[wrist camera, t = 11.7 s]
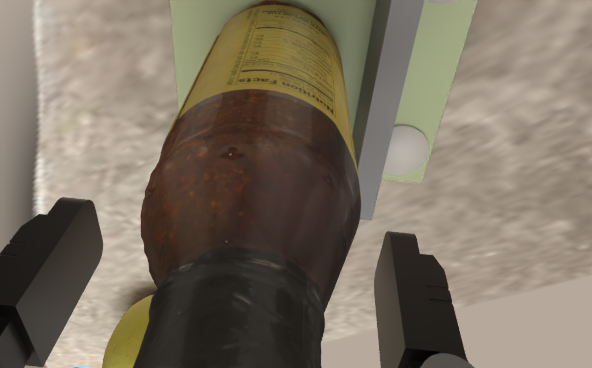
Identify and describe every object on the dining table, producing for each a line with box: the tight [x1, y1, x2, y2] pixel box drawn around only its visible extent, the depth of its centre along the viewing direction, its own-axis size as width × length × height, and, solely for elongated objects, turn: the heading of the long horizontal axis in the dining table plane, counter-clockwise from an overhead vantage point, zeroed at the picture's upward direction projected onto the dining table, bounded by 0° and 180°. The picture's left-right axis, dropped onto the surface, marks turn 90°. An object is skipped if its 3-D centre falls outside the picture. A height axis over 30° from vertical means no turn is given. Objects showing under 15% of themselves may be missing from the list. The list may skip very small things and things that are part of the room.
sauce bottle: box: [133, 0, 361, 368], centre depth 15 cm, size 6×6×20 cm
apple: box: [102, 295, 153, 368], centre depth 34 cm, size 8×8×10 cm
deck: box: [169, 0, 478, 220], centre depth 22 cm, size 14×14×5 cm
